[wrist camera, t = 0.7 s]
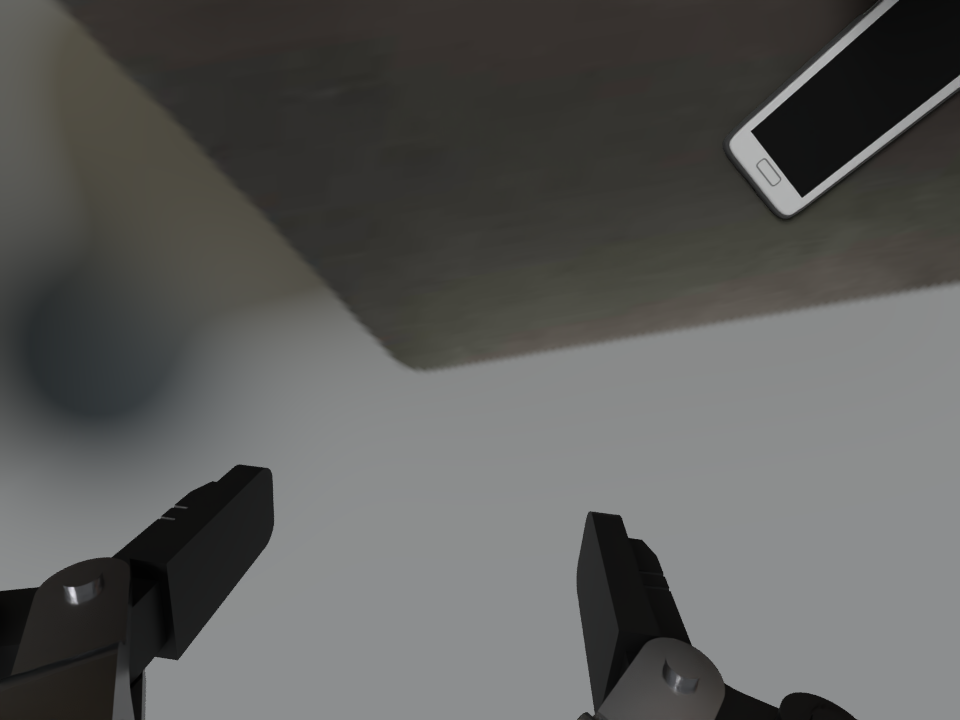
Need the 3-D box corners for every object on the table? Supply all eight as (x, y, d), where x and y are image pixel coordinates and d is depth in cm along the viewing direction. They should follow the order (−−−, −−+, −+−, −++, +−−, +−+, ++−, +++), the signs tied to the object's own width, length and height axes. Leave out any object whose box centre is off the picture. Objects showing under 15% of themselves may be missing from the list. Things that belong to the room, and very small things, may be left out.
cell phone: (714, 142, 33) (719, 144, 32) (953, -73, 26) (966, -78, 25) (778, 221, 35) (784, 225, 34) (1011, 41, 28) (1026, 40, 28)
